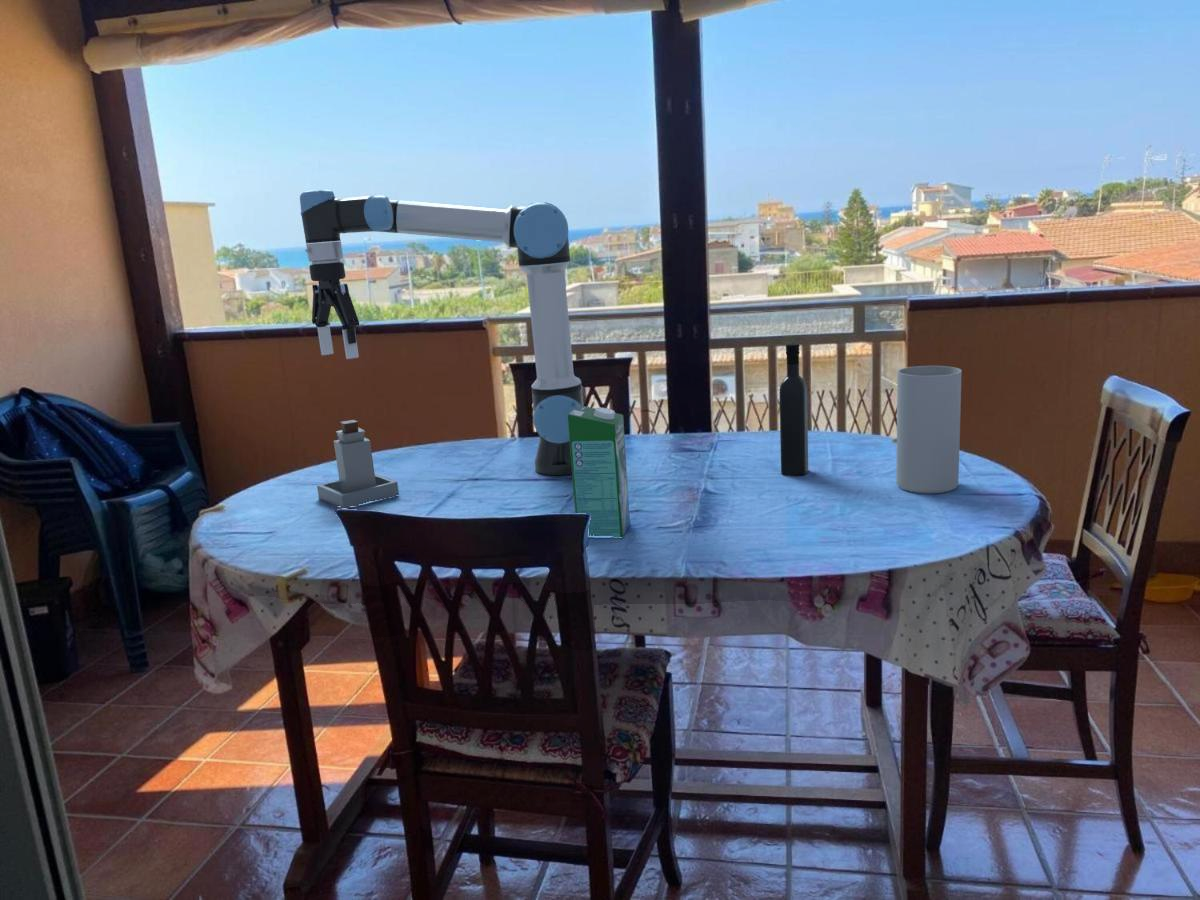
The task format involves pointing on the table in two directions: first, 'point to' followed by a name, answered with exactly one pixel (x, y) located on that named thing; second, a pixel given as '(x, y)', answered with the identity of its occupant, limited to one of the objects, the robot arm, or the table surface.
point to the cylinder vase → (928, 428)
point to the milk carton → (599, 469)
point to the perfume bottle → (354, 458)
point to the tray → (357, 493)
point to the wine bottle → (793, 417)
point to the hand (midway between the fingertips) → (339, 356)
